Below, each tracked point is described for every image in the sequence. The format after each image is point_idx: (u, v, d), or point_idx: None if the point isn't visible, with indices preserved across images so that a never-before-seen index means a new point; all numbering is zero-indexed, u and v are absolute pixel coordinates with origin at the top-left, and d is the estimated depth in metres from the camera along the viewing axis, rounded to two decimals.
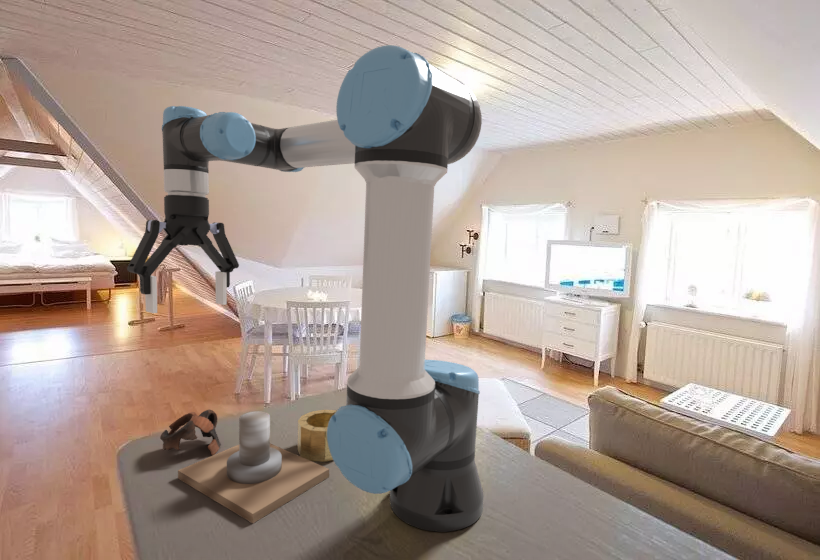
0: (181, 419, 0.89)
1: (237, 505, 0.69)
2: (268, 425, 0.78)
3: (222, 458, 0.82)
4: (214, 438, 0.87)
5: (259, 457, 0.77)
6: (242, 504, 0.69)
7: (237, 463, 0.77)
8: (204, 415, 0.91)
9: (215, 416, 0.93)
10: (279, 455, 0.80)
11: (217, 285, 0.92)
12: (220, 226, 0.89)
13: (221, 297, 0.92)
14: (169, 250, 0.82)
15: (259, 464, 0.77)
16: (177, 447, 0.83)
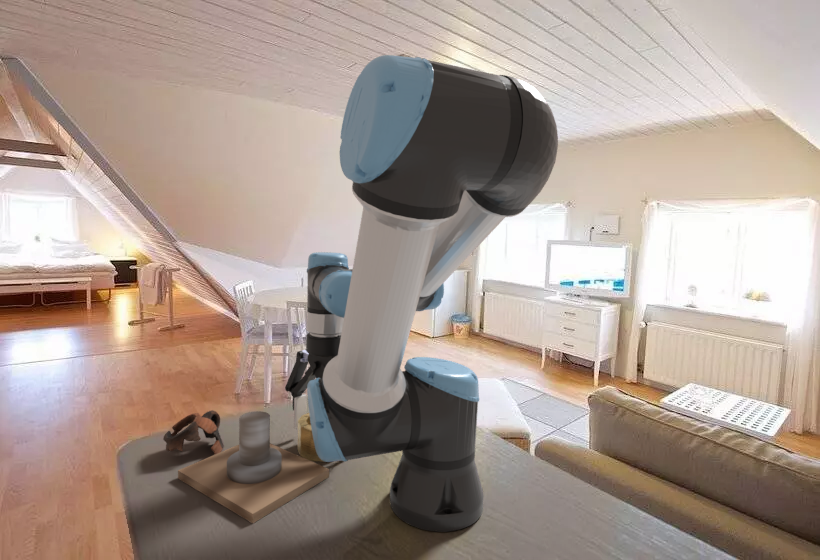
0: (184, 420, 0.89)
1: (237, 505, 0.69)
2: (268, 425, 0.78)
3: (222, 458, 0.82)
4: (217, 439, 0.87)
5: (259, 457, 0.77)
6: (242, 504, 0.69)
7: (237, 463, 0.77)
8: (207, 416, 0.90)
9: (217, 416, 0.93)
10: (279, 455, 0.80)
11: None
12: None
13: None
14: (306, 379, 0.90)
15: (259, 464, 0.77)
16: (180, 448, 0.82)
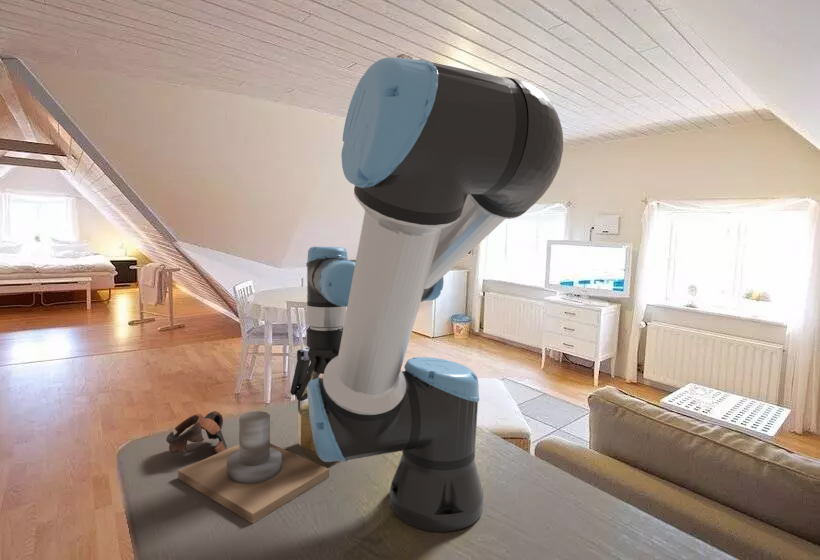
0: (187, 421, 0.88)
1: (237, 505, 0.69)
2: (268, 425, 0.78)
3: (222, 458, 0.82)
4: (221, 440, 0.87)
5: (259, 457, 0.77)
6: (242, 504, 0.69)
7: (237, 463, 0.77)
8: (210, 417, 0.90)
9: (220, 417, 0.92)
10: (279, 455, 0.80)
11: None
12: None
13: None
14: (309, 378, 0.89)
15: (259, 464, 0.77)
16: (184, 449, 0.82)
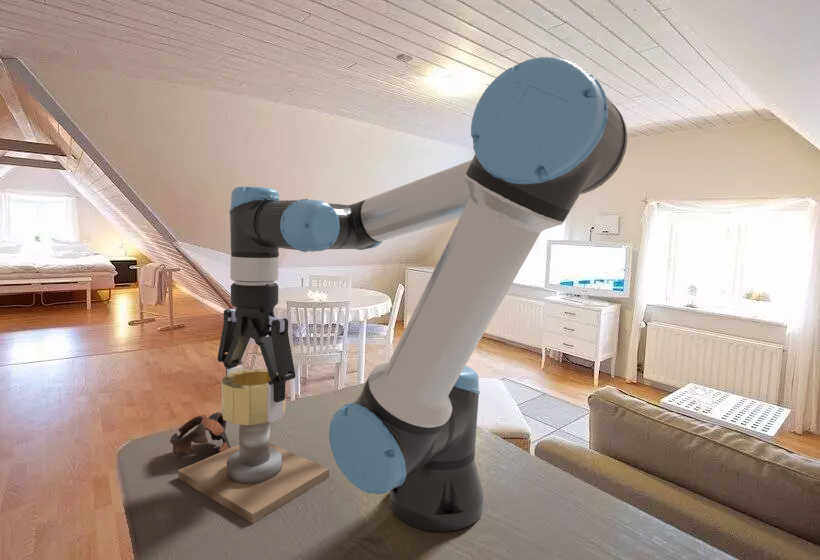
0: (190, 422, 0.88)
1: (237, 505, 0.69)
2: (268, 425, 0.78)
3: (222, 458, 0.82)
4: (225, 441, 0.86)
5: (259, 457, 0.77)
6: (242, 504, 0.69)
7: (237, 463, 0.77)
8: (213, 418, 0.90)
9: None
10: (279, 455, 0.80)
11: None
12: (272, 324, 0.72)
13: None
14: (236, 342, 0.77)
15: (259, 464, 0.77)
16: (188, 451, 0.82)
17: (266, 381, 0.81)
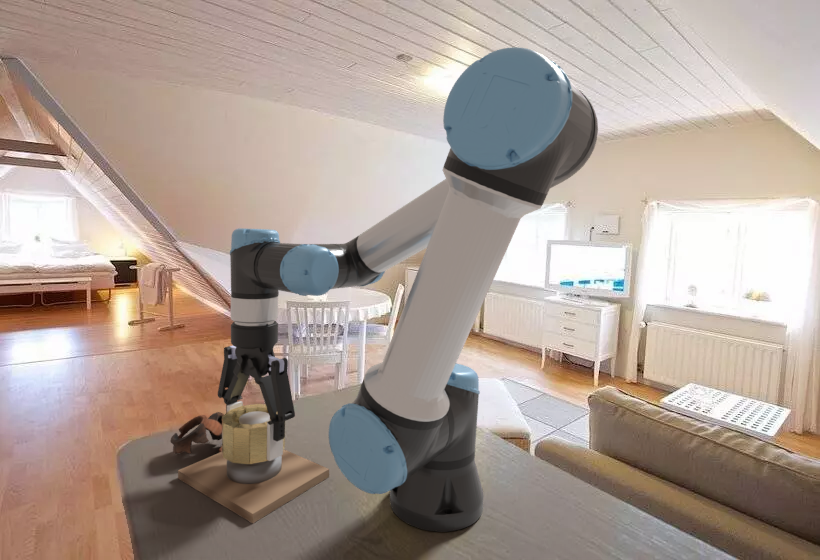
0: (191, 422, 0.88)
1: (237, 505, 0.69)
2: None
3: (222, 458, 0.82)
4: None
5: None
6: (242, 504, 0.69)
7: (237, 463, 0.77)
8: (214, 418, 0.90)
9: None
10: None
11: None
12: (272, 365, 0.72)
13: None
14: (236, 379, 0.78)
15: (259, 464, 0.77)
16: (188, 450, 0.82)
17: None
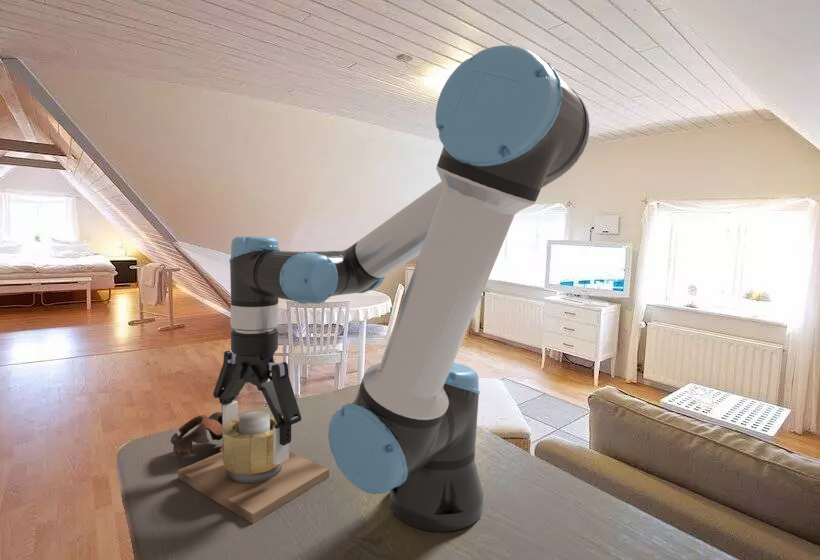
0: (191, 422, 0.88)
1: (237, 505, 0.69)
2: (268, 425, 0.78)
3: (222, 458, 0.82)
4: None
5: None
6: (242, 504, 0.69)
7: None
8: (214, 418, 0.90)
9: None
10: None
11: None
12: (272, 369, 0.73)
13: None
14: (234, 383, 0.78)
15: None
16: (189, 450, 0.82)
17: None
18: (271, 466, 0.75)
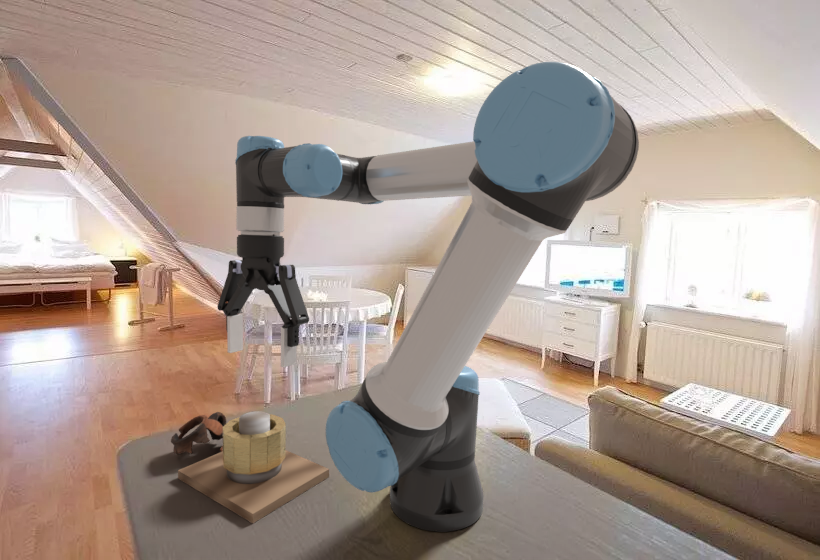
0: (191, 422, 0.88)
1: (237, 505, 0.69)
2: (268, 425, 0.78)
3: (222, 458, 0.82)
4: None
5: None
6: (242, 504, 0.69)
7: None
8: (214, 418, 0.90)
9: (224, 418, 0.92)
10: None
11: None
12: (280, 270, 0.72)
13: None
14: (239, 292, 0.78)
15: None
16: (190, 450, 0.82)
17: None
18: (271, 466, 0.75)
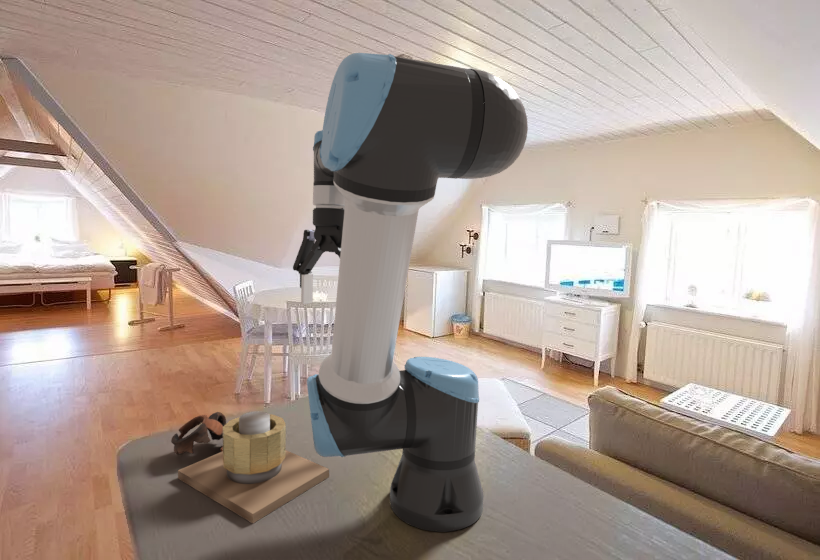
0: (191, 422, 0.88)
1: (237, 505, 0.69)
2: (268, 425, 0.78)
3: (222, 458, 0.82)
4: None
5: None
6: (242, 504, 0.69)
7: None
8: (214, 418, 0.90)
9: (223, 418, 0.92)
10: None
11: None
12: None
13: None
14: (312, 254, 0.98)
15: None
16: (190, 450, 0.82)
17: None
18: (271, 466, 0.75)
